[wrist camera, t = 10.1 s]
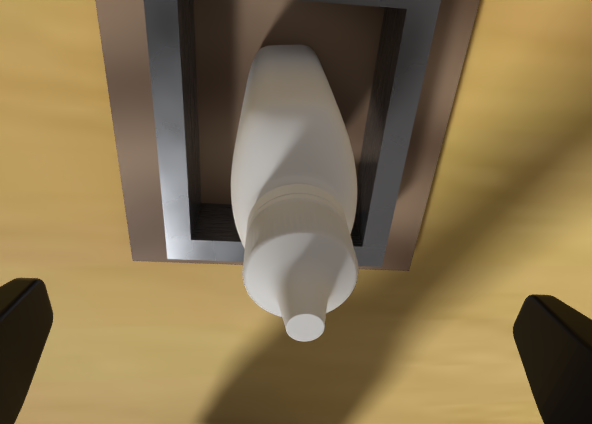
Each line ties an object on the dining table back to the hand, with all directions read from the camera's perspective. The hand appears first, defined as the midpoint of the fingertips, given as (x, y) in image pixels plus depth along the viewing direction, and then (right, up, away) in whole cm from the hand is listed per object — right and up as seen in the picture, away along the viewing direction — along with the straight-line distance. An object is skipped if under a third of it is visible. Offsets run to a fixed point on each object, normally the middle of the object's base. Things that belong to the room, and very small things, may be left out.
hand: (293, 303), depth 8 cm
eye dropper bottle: (0, +6, +10) cm, 12 cm away
